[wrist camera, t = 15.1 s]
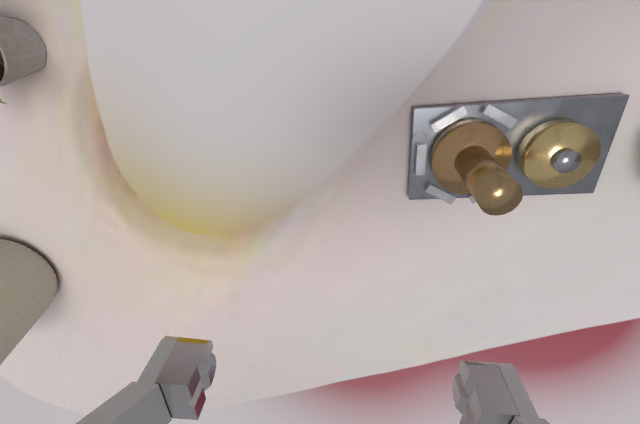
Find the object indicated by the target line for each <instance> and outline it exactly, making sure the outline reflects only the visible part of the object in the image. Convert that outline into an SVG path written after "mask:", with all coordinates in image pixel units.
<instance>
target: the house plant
mask: <svg viewBox="0 0 640 424" xmlns="http://www.w3.org/2000/svg"><path fill="white" fill-rule="evenodd" d="M46 55H47V53H46V47H45V44H44V42H43V40H42V39H41V37H40V36H39V34H38V33H37V32H36V31H35V30H34V29H33V28H32V27H31V26H30V25H28V24H27V23H25V22H23V21H21V20H18V19H14V18H8V17H3V16H0V87H1V86H4V85H6V84H8V83H10V82H13V81H15V80H17V79H19V78H22V77H24V76H26V75H29V74H31V73H33V72H35V71H38V70H40V69H42V68H43V67H44V66H45V63H46ZM0 102H1V103H4V102H2V101H1V99H0ZM5 104H6V103H5Z"/></svg>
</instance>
